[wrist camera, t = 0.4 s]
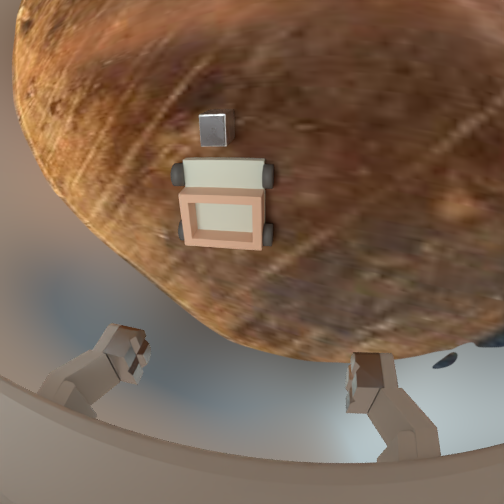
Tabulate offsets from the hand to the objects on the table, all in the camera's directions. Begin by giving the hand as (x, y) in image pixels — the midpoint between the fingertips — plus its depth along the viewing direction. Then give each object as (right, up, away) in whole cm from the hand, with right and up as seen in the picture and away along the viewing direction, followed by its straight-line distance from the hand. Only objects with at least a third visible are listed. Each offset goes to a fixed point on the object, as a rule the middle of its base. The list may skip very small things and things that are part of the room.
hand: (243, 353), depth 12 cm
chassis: (-4, +13, +46) cm, 48 cm away
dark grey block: (-5, +25, +38) cm, 46 cm away
